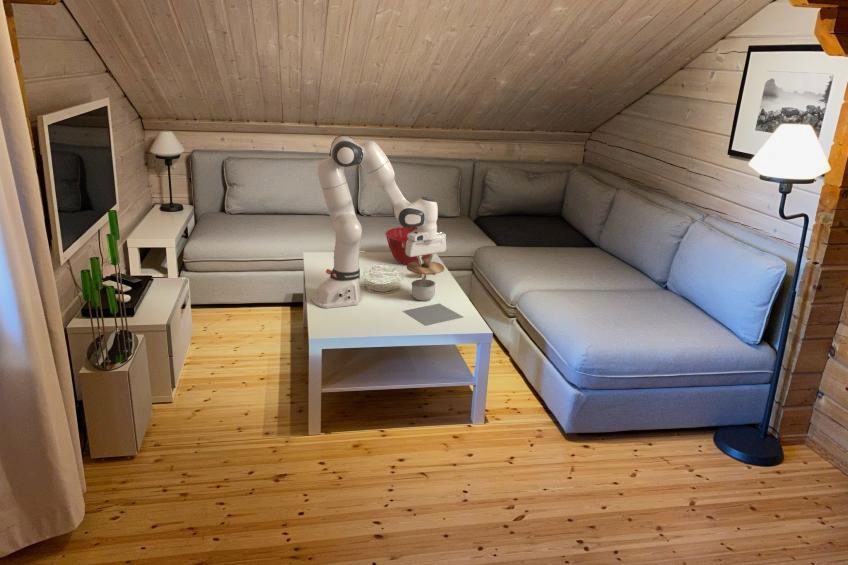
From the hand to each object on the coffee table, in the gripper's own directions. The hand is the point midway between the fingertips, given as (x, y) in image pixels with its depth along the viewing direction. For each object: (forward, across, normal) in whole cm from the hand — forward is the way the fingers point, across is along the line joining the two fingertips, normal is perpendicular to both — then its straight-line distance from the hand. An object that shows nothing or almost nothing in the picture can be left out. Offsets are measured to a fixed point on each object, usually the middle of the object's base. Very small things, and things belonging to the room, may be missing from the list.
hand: (425, 263), depth 301 cm
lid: (+2, 0, 0) cm, 2 cm away
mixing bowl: (+17, -24, -48) cm, 57 cm away
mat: (+17, +8, +19) cm, 26 cm away
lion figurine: (+17, -18, -24) cm, 34 cm away
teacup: (+17, 0, 0) cm, 17 cm away
